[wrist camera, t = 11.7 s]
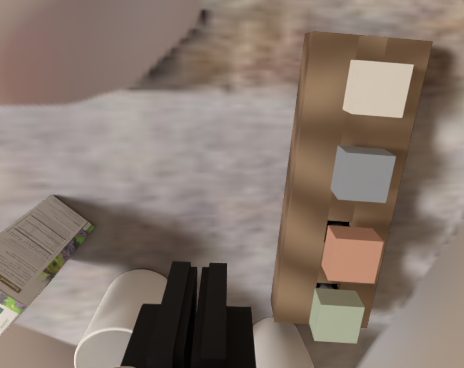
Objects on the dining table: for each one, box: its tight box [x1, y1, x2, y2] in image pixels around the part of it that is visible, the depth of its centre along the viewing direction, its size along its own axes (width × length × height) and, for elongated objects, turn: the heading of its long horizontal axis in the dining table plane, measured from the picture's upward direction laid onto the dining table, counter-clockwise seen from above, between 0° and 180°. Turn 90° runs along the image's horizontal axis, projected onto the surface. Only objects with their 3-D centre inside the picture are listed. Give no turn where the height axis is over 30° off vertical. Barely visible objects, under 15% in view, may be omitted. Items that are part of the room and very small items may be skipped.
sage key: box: [309, 283, 365, 343], centre depth 38 cm, size 4×4×7 cm
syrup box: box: [0, 195, 94, 336], centre depth 35 cm, size 6×6×14 cm
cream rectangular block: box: [342, 60, 414, 118], centre depth 32 cm, size 4×4×7 cm
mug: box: [74, 269, 167, 368], centre depth 40 cm, size 12×8×10 cm
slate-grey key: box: [330, 145, 396, 203], centre depth 34 cm, size 4×4×7 cm
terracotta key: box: [321, 221, 384, 284], centre depth 35 cm, size 4×4×7 cm
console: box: [271, 31, 433, 328], centre depth 38 cm, size 29×10×4 cm, turn 176°
